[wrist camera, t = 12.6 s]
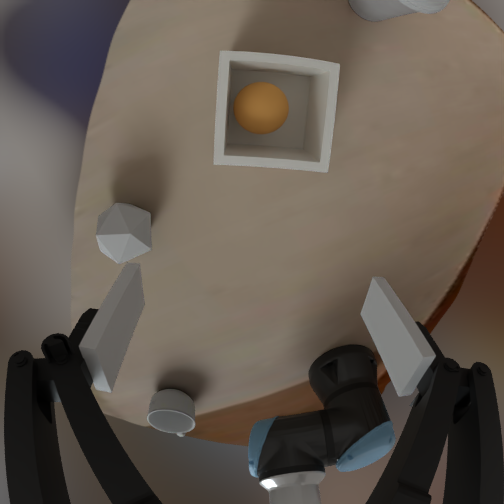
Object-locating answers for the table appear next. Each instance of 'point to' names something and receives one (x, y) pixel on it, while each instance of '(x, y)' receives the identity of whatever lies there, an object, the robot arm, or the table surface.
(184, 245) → the table surface
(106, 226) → the die
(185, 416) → the teacup
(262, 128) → the ball
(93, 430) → the robot arm
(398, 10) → the coffee cup
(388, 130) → the table surface
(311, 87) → the white open box
